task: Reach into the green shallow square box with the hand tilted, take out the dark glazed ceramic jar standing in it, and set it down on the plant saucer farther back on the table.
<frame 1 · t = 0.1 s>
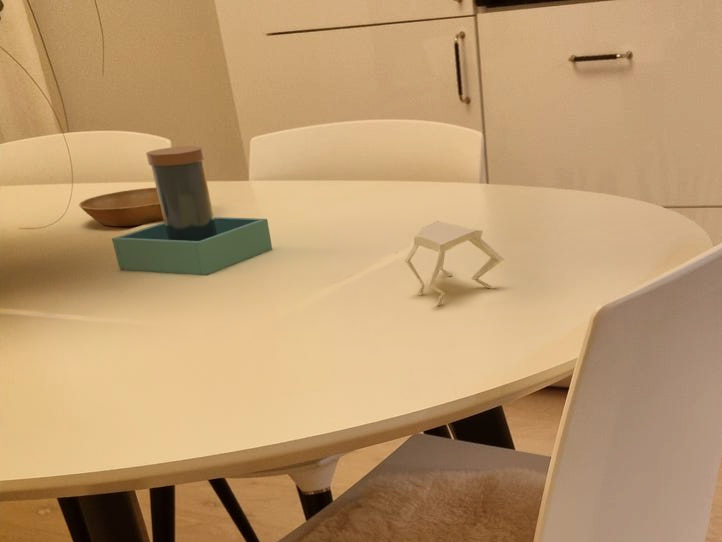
plant saucer: (143, 220, 123), on the table
origami figure: (450, 289, 85), on the table
green shallow square box: (198, 264, 99), on the table
jar: (197, 259, 99), resting on green shallow square box
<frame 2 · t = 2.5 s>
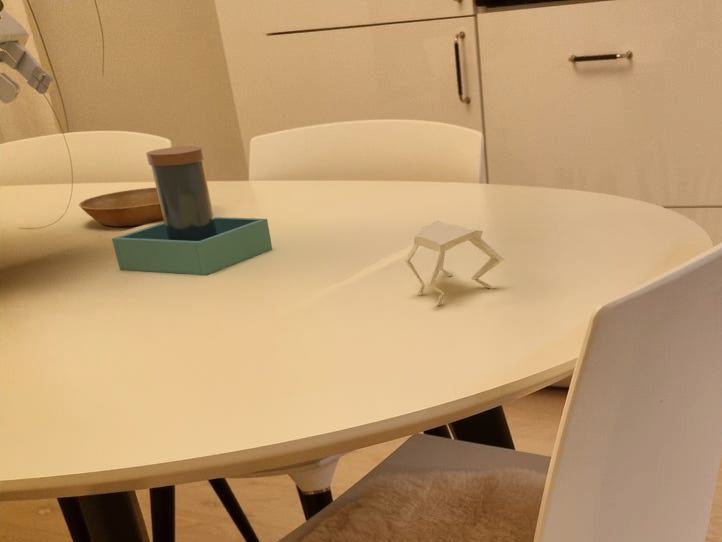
hand: (33, 92, 90), 16 cm above the table, tool tilted 45°, fingers open, 8 cm apart
nothing on the table moved.
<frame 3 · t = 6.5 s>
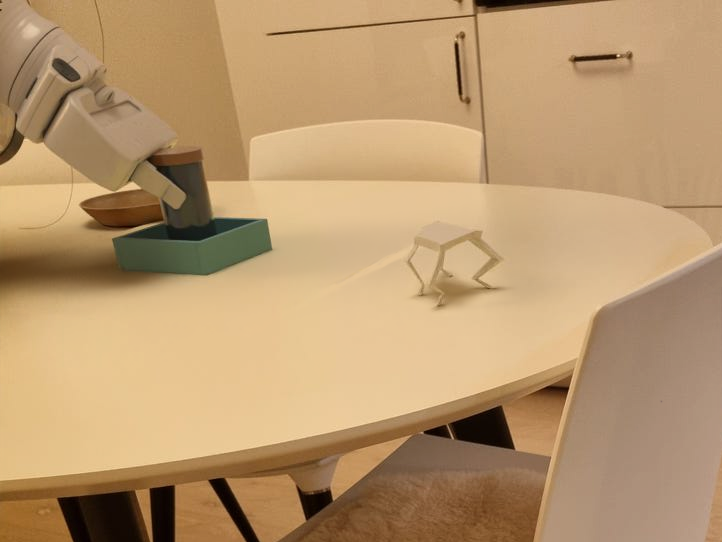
hand: (190, 197, 95), 6 cm above the table, tool tilted 45°, fingers closed on jar, 5 cm apart
jar: (197, 259, 99), point 1 cm above the table, touching green shallow square box, gripper
everything else where it was.
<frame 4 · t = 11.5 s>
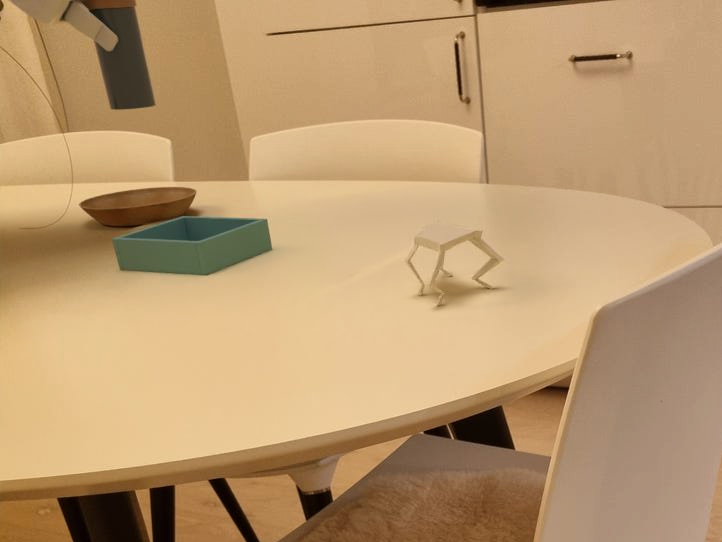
hand: (124, 44, 102), 19 cm above the table, tool tilted 45°, fingers closed on jar, 5 cm apart
jar: (133, 107, 105), point 13 cm above the table, touching gripper
everything else where it was.
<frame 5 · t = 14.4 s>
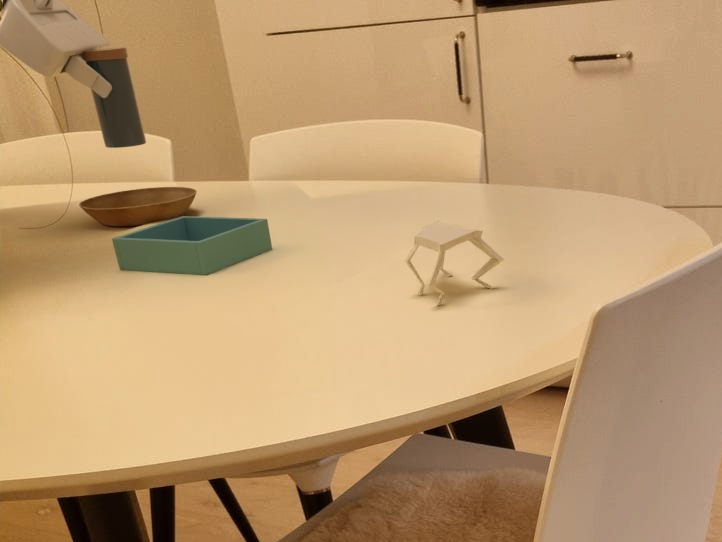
hand: (117, 90, 115), 14 cm above the table, tool tilted 45°, fingers closed on jar, 5 cm apart
jar: (126, 144, 118), point 9 cm above the table, touching gripper
everything else where it was.
when the fingers open (8 cm above the table, at t = 16.5 s): jar stays where it is, resting on plant saucer.
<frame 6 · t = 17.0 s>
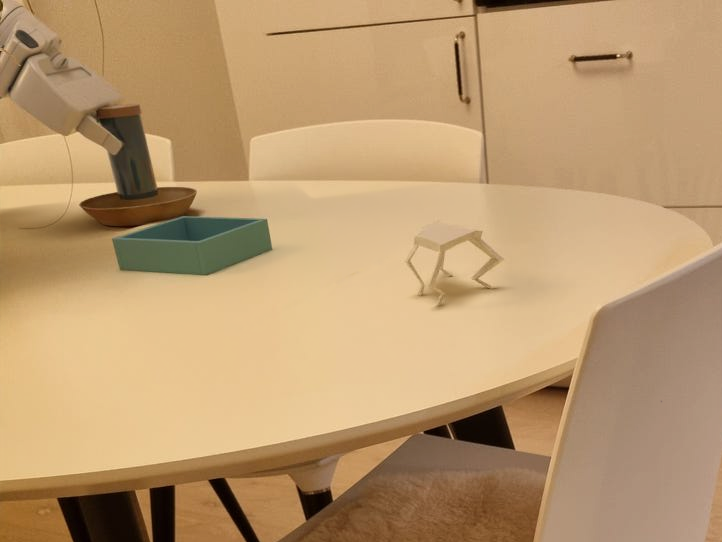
hand: (131, 144, 118), 9 cm above the table, tool tilted 45°, fingers open, 8 cm apart
plant saucer: (144, 220, 123), on the table, touching jar
jar: (139, 196, 122), point 3 cm above the table, touching plant saucer
everything else where it was.
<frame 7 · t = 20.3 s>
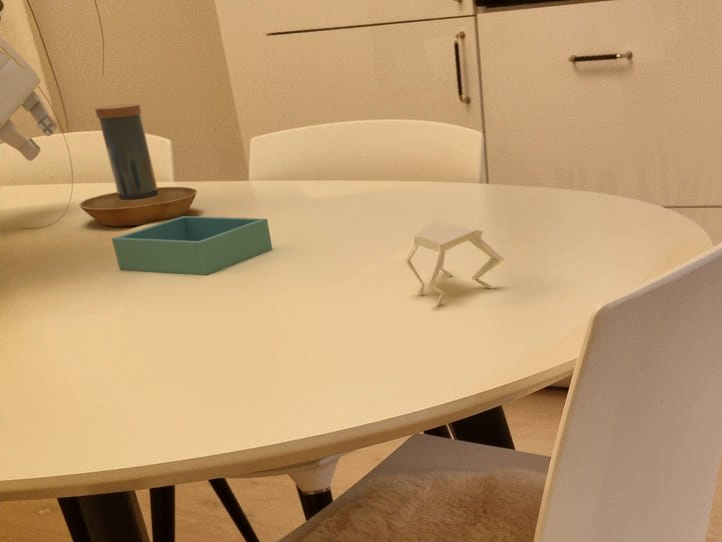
hand: (45, 143, 122), 9 cm above the table, tool tilted 30°, fingers open, 8 cm apart
nothing on the table moved.
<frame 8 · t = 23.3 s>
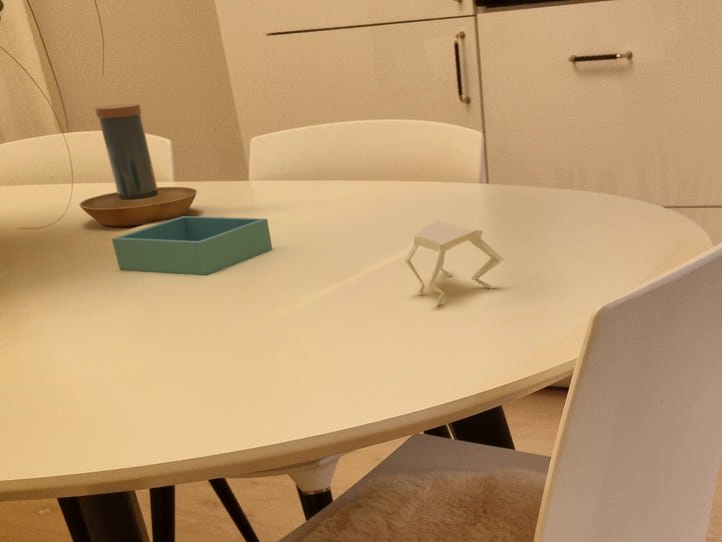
nothing on the table moved.
at the end: jar inside the target area in the plant saucer (0.2 cm from its centre), point 2.8 cm above the plant saucer's base; jar tilted 0°; jar moved 32.3 cm from its start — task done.
